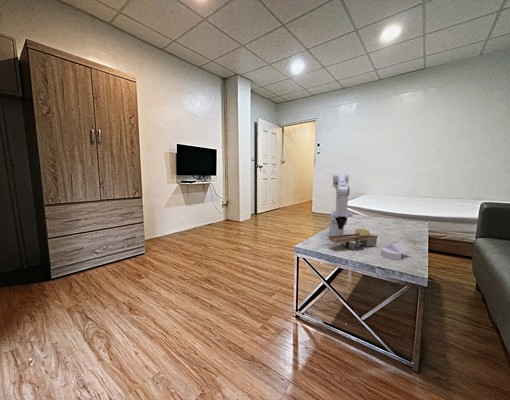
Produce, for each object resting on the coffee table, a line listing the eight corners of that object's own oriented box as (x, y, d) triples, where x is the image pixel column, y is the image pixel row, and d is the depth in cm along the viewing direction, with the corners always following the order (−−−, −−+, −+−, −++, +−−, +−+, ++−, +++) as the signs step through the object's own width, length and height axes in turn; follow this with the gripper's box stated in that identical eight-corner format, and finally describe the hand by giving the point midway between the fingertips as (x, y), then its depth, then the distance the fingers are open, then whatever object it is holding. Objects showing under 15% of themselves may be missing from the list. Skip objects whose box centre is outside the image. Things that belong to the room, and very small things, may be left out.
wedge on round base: (391, 250, 120) (377, 254, 114) (392, 239, 119) (378, 243, 113) (408, 256, 113) (394, 261, 107) (410, 244, 112) (396, 248, 106)
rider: (355, 235, 127) (355, 229, 126) (363, 234, 129) (363, 228, 128) (359, 237, 123) (360, 231, 123) (368, 237, 125) (368, 230, 124)
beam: (328, 245, 124) (329, 236, 123) (368, 241, 132) (368, 232, 131) (335, 249, 118) (336, 239, 117) (376, 245, 126) (377, 235, 125)
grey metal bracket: (340, 244, 129) (341, 234, 128) (351, 243, 131) (352, 233, 130) (352, 250, 119) (353, 239, 118) (363, 249, 121) (364, 238, 120)
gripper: (336, 208, 118) (334, 231, 120) (357, 207, 122) (355, 229, 124) (328, 206, 125) (326, 228, 127) (348, 205, 129) (346, 226, 131)
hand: (340, 228), depth 126 cm, fingers closed
